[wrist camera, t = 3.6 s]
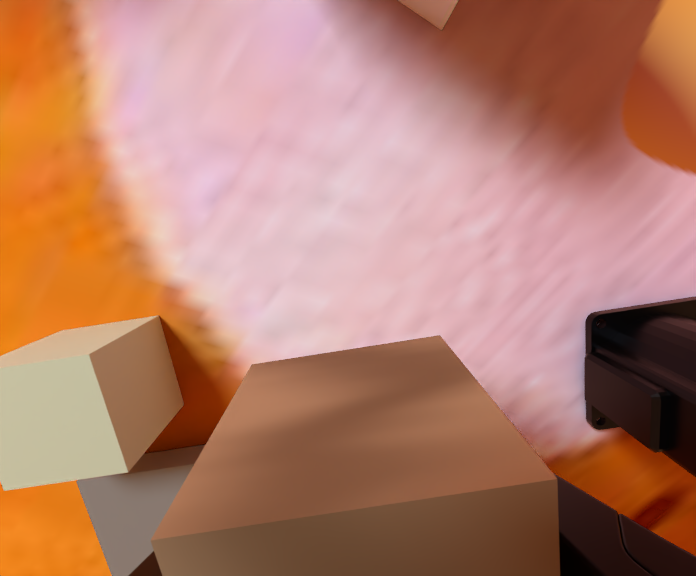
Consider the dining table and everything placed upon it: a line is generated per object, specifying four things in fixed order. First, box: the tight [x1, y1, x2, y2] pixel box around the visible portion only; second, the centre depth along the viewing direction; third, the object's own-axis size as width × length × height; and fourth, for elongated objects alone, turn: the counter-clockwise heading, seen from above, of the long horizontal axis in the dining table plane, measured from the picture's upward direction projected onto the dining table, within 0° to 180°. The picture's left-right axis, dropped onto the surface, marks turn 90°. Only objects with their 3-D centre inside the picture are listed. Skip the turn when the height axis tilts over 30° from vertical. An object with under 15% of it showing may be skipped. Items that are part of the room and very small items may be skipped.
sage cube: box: [0, 316, 184, 491], centre depth 16 cm, size 5×5×5 cm
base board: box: [77, 444, 206, 576], centre depth 20 cm, size 14×14×2 cm
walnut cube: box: [150, 335, 560, 576], centre depth 7 cm, size 5×5×5 cm
